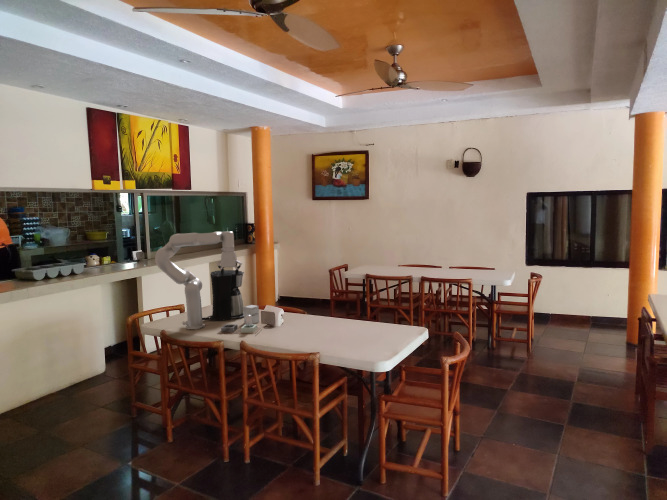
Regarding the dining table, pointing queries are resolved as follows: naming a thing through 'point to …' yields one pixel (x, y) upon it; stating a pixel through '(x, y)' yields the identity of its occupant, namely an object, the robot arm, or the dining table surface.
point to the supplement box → (252, 313)
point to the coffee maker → (226, 296)
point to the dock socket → (249, 329)
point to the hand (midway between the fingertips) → (229, 275)
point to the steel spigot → (248, 320)
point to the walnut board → (233, 329)
